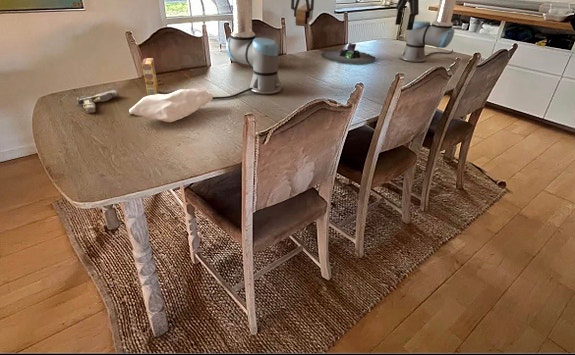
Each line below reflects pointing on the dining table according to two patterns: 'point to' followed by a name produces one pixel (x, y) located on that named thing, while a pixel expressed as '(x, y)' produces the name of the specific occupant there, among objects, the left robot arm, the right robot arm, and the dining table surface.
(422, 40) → the right robot arm
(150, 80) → the candy box
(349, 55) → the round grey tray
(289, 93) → the dining table surface
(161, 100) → the crumpled cloth
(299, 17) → the bar
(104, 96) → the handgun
